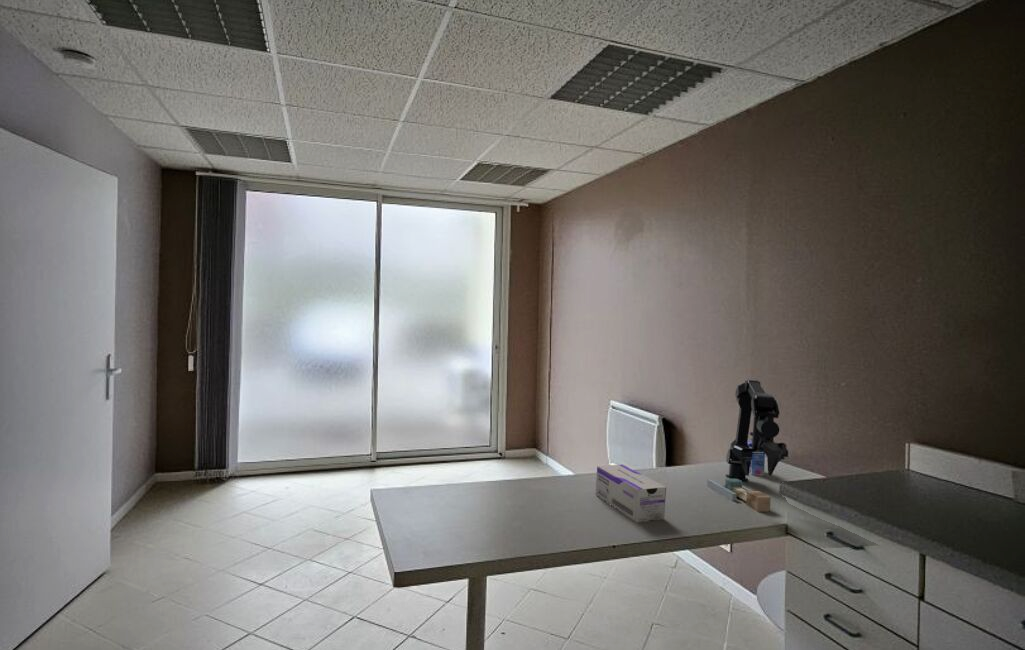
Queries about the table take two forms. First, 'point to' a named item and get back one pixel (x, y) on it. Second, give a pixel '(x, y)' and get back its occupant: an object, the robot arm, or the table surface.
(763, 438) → the robot arm
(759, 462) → the ink cartridge box
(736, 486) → the push rod
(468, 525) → the table surface
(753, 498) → the block
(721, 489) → the channel
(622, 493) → the surgical sutures box
